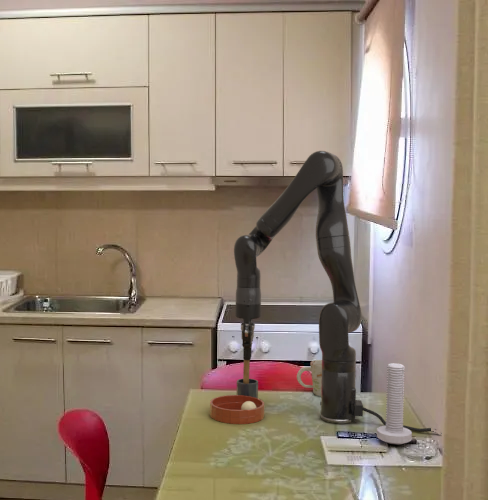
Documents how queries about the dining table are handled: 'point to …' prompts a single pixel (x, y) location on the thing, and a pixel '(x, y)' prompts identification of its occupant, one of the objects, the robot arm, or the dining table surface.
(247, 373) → the stick
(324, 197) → the robot arm
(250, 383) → the tube
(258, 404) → the bowl
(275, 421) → the dining table surface
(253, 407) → the dough ball
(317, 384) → the mug
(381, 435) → the screw
